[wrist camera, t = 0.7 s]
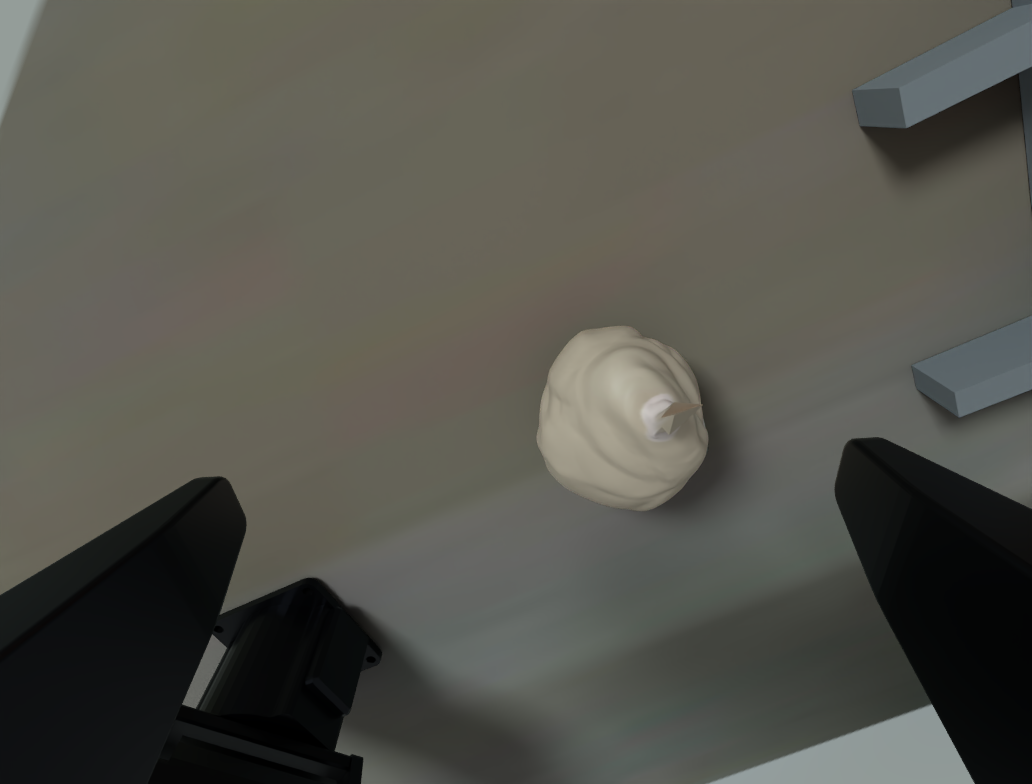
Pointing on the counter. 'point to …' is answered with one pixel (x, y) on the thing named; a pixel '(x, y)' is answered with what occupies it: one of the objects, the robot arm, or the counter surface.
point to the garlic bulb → (621, 419)
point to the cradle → (971, 69)
